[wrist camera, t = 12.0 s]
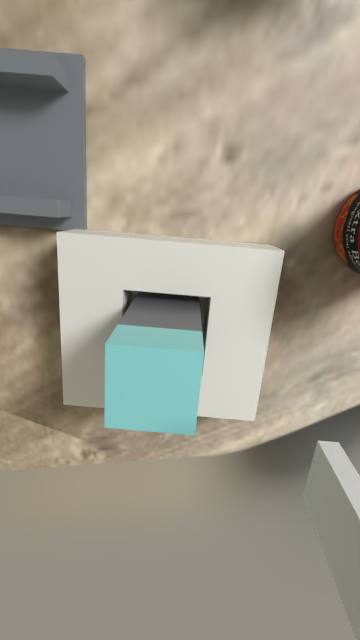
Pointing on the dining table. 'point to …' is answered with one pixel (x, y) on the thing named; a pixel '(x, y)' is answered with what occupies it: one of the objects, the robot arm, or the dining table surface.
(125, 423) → the plug
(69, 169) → the holster
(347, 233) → the canned food
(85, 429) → the dining table surface
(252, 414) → the port
